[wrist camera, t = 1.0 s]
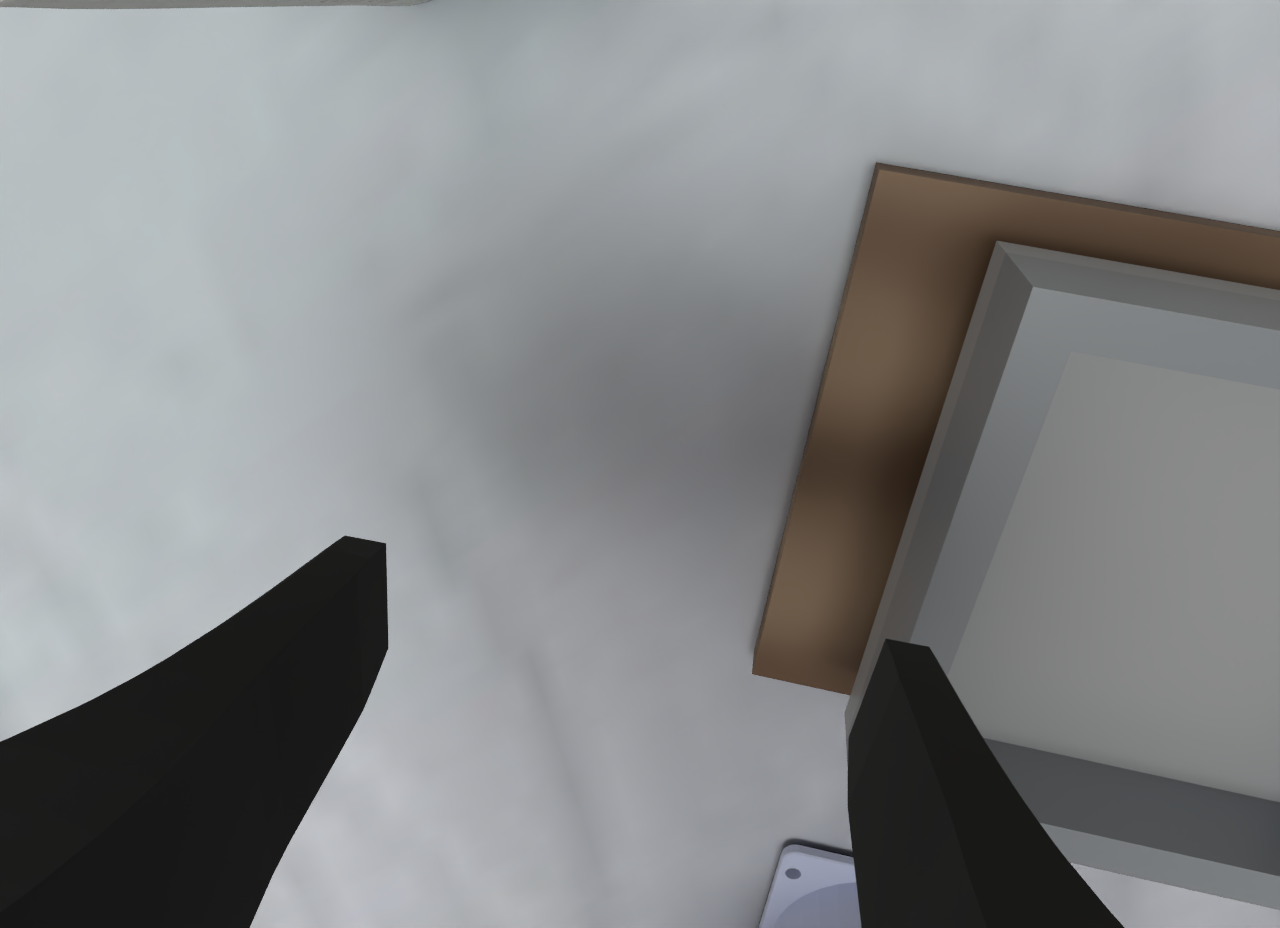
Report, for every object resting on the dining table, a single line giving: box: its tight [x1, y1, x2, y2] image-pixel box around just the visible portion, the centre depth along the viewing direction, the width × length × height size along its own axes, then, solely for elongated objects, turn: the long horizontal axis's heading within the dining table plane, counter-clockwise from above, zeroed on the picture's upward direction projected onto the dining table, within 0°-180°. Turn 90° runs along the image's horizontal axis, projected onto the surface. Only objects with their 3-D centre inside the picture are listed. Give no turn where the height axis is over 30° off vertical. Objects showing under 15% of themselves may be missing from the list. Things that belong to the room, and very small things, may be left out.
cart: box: [845, 241, 1280, 910], centre depth 21 cm, size 13×12×5 cm
